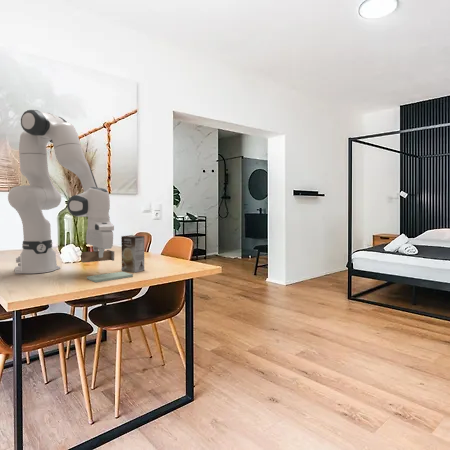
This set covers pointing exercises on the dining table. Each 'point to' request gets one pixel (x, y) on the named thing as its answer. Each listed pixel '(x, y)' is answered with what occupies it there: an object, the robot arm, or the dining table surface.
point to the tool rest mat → (109, 276)
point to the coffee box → (132, 253)
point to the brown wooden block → (96, 256)
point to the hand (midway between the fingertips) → (98, 256)
